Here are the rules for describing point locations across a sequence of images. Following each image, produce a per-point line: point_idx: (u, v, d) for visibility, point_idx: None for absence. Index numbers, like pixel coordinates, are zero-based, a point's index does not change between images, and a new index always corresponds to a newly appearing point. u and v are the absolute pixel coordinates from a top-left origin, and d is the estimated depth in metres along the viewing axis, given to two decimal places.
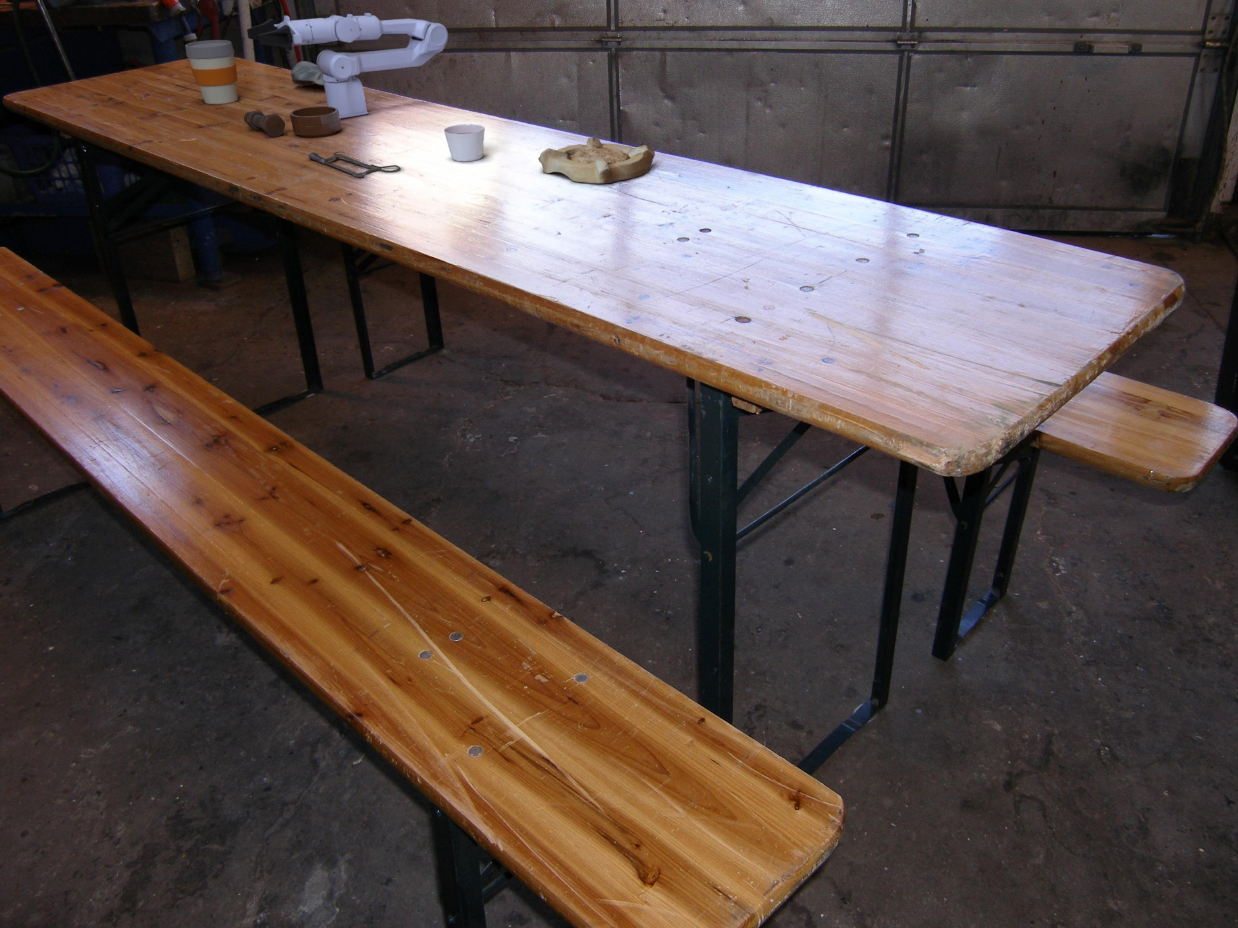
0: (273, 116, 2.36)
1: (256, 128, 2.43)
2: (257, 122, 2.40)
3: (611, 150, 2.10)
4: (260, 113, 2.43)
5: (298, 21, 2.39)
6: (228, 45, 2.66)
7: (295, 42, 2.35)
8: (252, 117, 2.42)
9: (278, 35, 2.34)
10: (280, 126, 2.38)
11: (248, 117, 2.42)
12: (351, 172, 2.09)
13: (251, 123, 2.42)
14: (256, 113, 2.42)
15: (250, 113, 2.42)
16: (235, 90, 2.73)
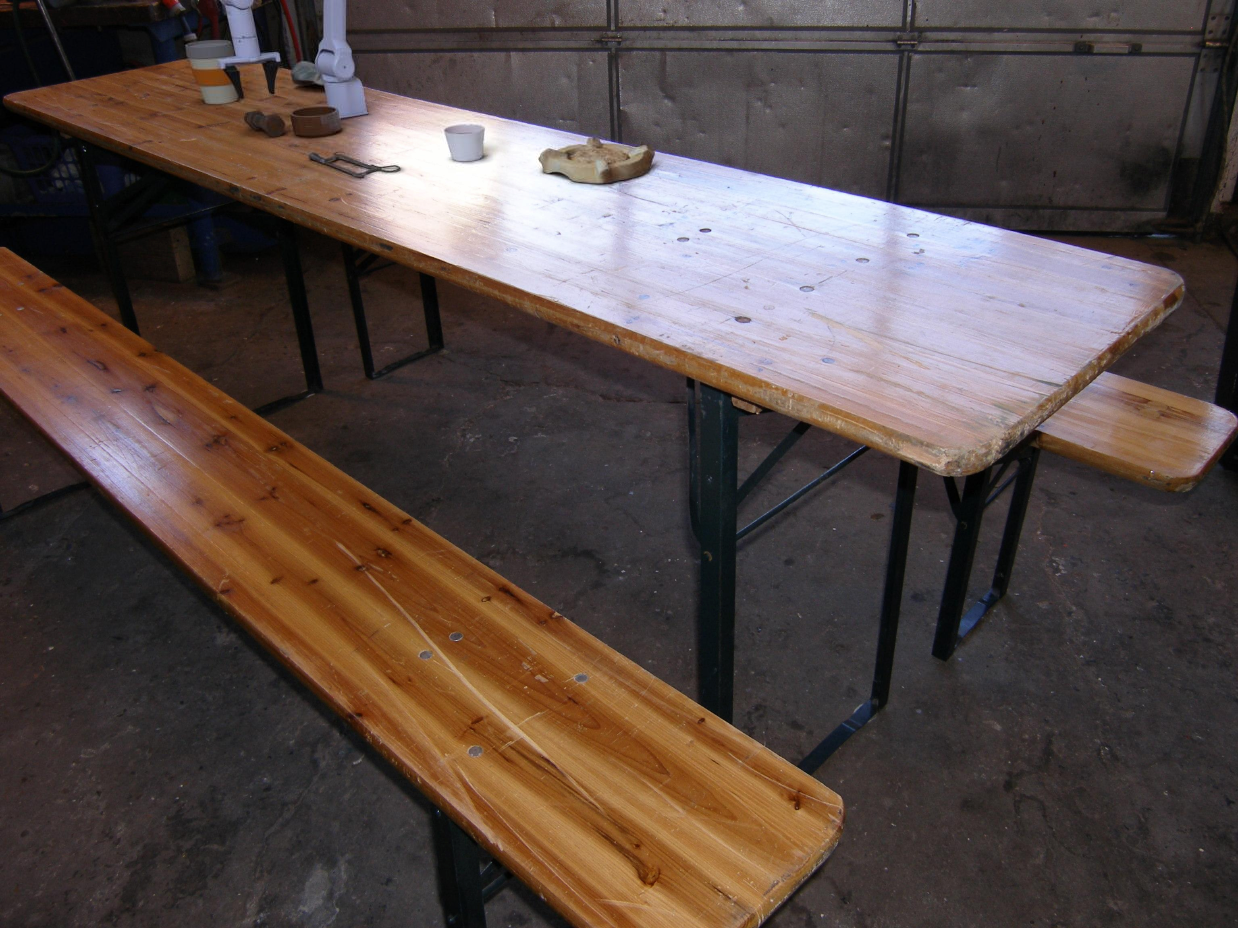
0: (273, 116, 2.36)
1: (256, 128, 2.43)
2: (257, 122, 2.40)
3: (611, 150, 2.10)
4: (260, 113, 2.43)
5: (253, 47, 2.31)
6: (228, 45, 2.66)
7: None
8: (252, 117, 2.42)
9: None
10: (280, 126, 2.38)
11: (248, 117, 2.42)
12: (351, 172, 2.09)
13: (251, 123, 2.42)
14: (256, 113, 2.42)
15: (250, 113, 2.42)
16: (235, 90, 2.73)
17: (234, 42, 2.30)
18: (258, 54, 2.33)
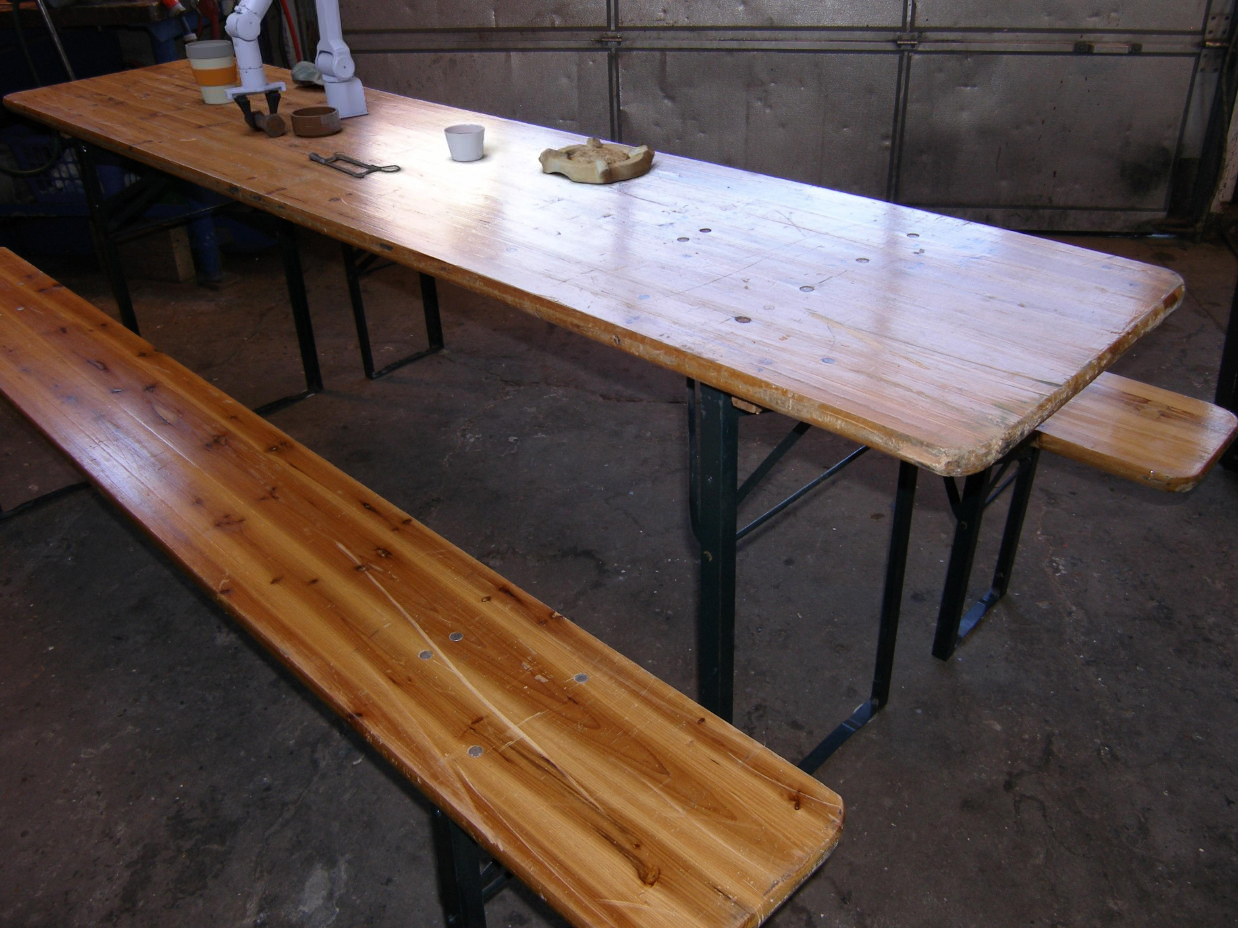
0: (273, 116, 2.36)
1: (256, 128, 2.43)
2: (257, 122, 2.40)
3: (611, 150, 2.10)
4: (260, 113, 2.43)
5: (259, 78, 2.34)
6: (228, 45, 2.66)
7: None
8: None
9: None
10: (281, 126, 2.38)
11: None
12: (351, 172, 2.09)
13: None
14: (256, 113, 2.42)
15: None
16: None
17: (241, 73, 2.34)
18: (264, 84, 2.36)
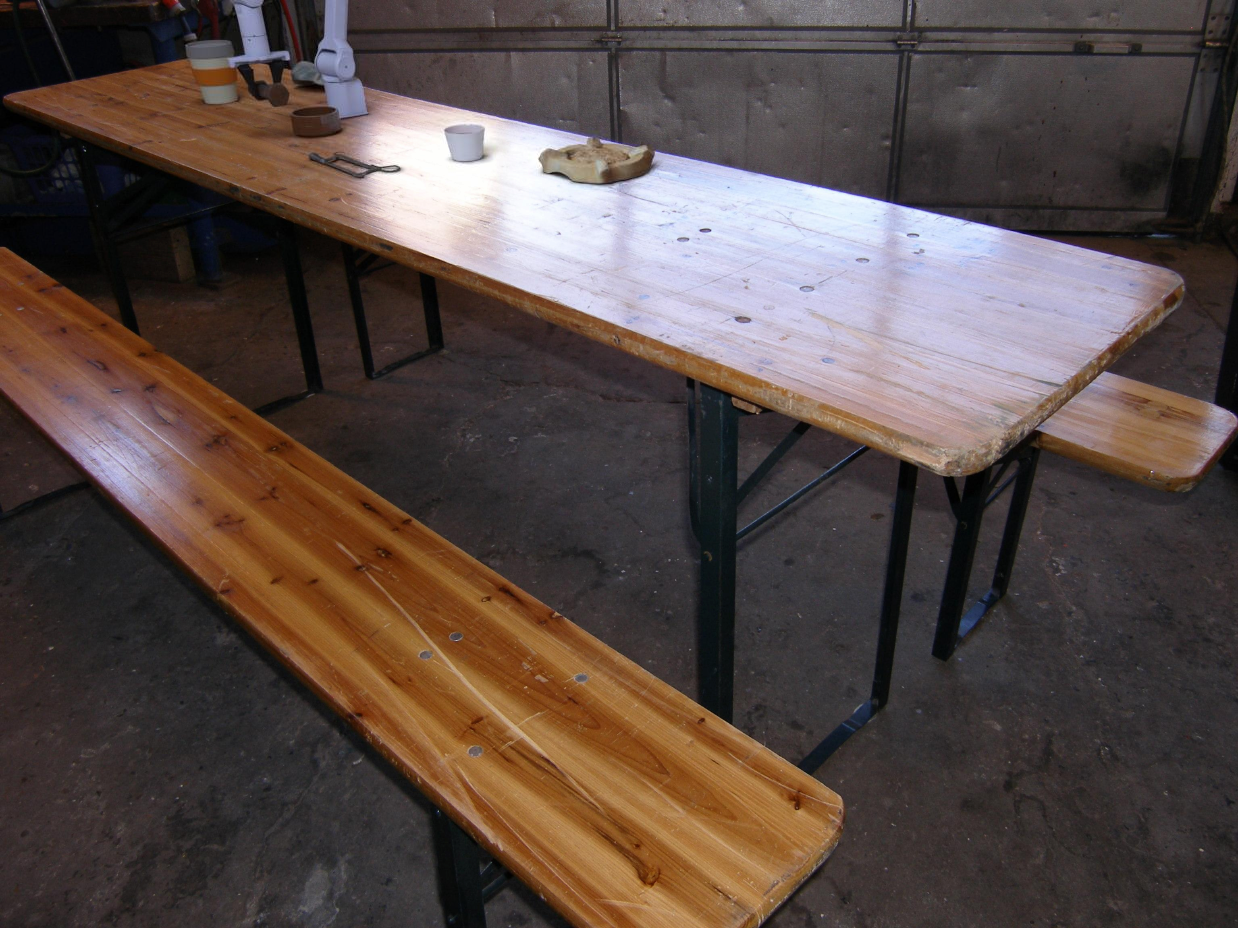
0: (277, 85, 2.32)
1: (260, 98, 2.39)
2: (261, 92, 2.36)
3: (611, 150, 2.10)
4: (264, 83, 2.39)
5: (263, 46, 2.30)
6: (228, 45, 2.66)
7: None
8: (256, 87, 2.38)
9: None
10: (284, 95, 2.34)
11: None
12: (351, 172, 2.09)
13: None
14: (260, 83, 2.38)
15: None
16: (235, 90, 2.73)
17: (244, 41, 2.29)
18: (268, 53, 2.32)
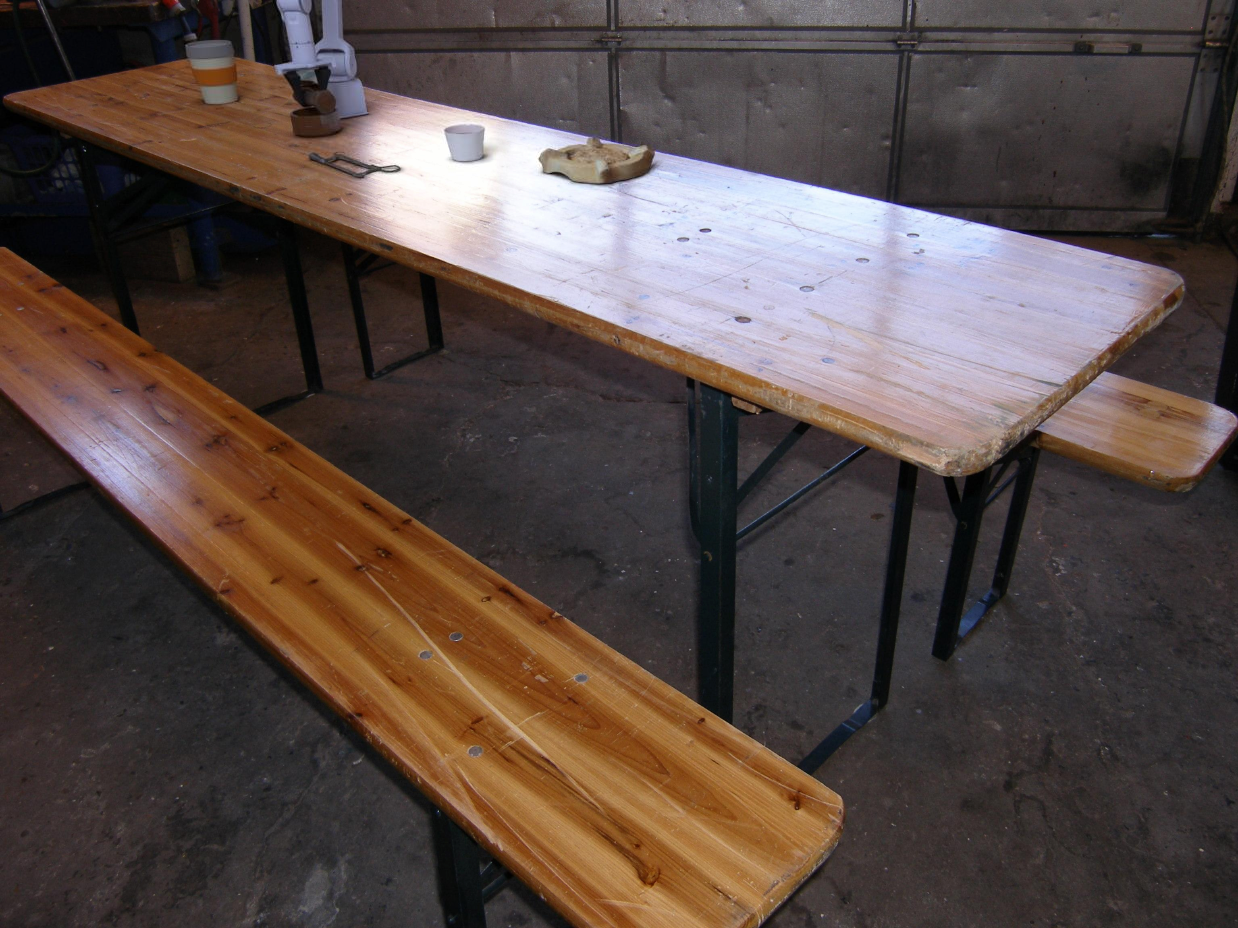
0: (324, 92, 2.31)
1: (305, 105, 2.39)
2: (307, 99, 2.35)
3: (611, 150, 2.10)
4: (310, 90, 2.38)
5: (310, 53, 2.30)
6: (228, 45, 2.66)
7: None
8: None
9: None
10: (331, 102, 2.33)
11: None
12: (351, 172, 2.09)
13: None
14: (306, 90, 2.37)
15: None
16: (235, 90, 2.73)
17: (291, 48, 2.29)
18: (315, 60, 2.31)
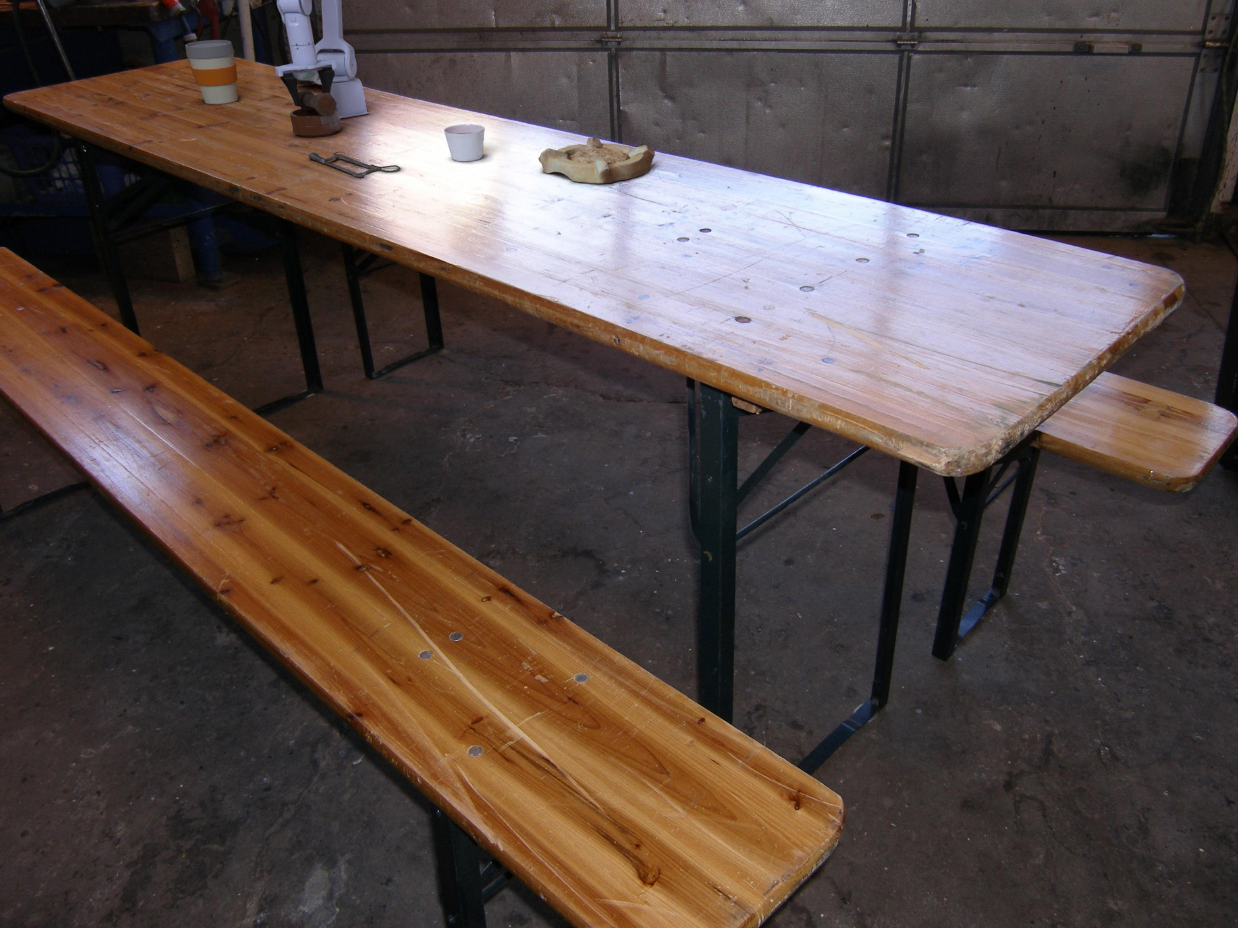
0: (325, 95, 2.31)
1: (306, 108, 2.39)
2: (307, 102, 2.36)
3: (611, 150, 2.10)
4: (310, 93, 2.38)
5: (310, 55, 2.30)
6: (228, 45, 2.66)
7: None
8: (302, 97, 2.37)
9: None
10: (332, 105, 2.33)
11: None
12: (351, 172, 2.09)
13: (301, 103, 2.38)
14: (306, 93, 2.38)
15: (300, 93, 2.37)
16: (235, 90, 2.73)
17: (292, 49, 2.29)
18: (315, 61, 2.32)
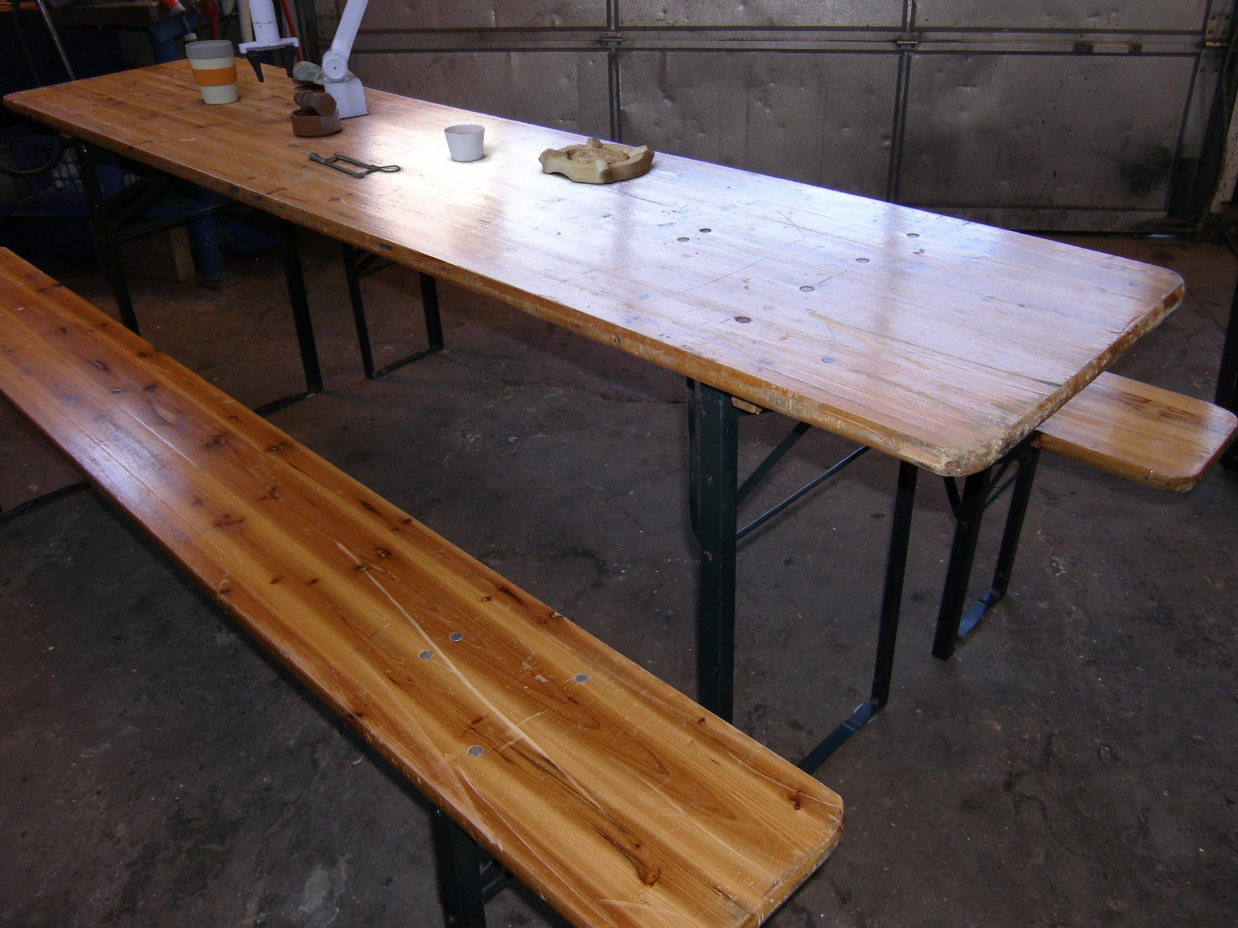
0: (325, 95, 2.31)
1: (306, 108, 2.39)
2: (307, 102, 2.36)
3: (611, 150, 2.10)
4: (310, 93, 2.38)
5: (273, 32, 2.40)
6: (228, 45, 2.66)
7: None
8: (302, 97, 2.37)
9: None
10: (332, 105, 2.33)
11: (298, 97, 2.38)
12: (351, 172, 2.09)
13: (301, 103, 2.38)
14: (306, 93, 2.38)
15: (300, 93, 2.37)
16: (235, 90, 2.73)
17: (255, 27, 2.39)
18: (277, 39, 2.42)
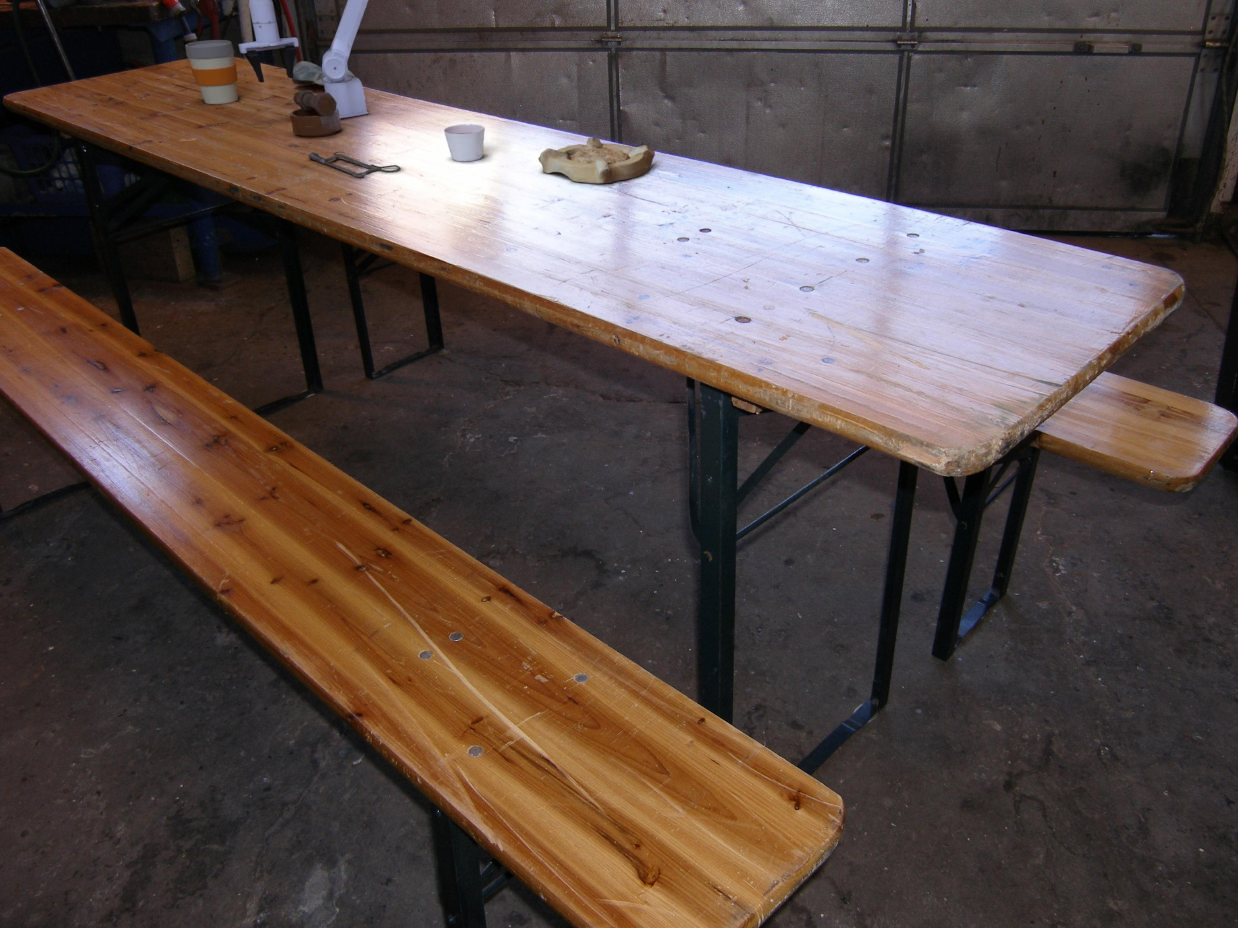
0: (325, 95, 2.31)
1: (306, 108, 2.39)
2: (307, 102, 2.36)
3: (611, 150, 2.10)
4: (310, 93, 2.38)
5: (273, 32, 2.40)
6: (228, 45, 2.66)
7: None
8: (302, 97, 2.37)
9: None
10: (332, 105, 2.33)
11: (298, 97, 2.38)
12: (351, 172, 2.09)
13: (301, 103, 2.38)
14: (306, 93, 2.38)
15: (300, 93, 2.37)
16: (235, 90, 2.73)
17: (255, 27, 2.39)
18: (277, 39, 2.42)
